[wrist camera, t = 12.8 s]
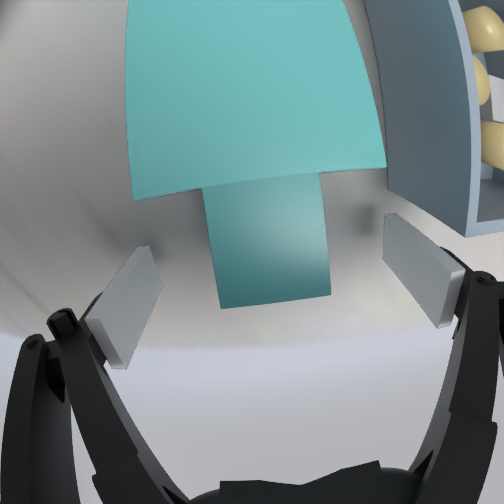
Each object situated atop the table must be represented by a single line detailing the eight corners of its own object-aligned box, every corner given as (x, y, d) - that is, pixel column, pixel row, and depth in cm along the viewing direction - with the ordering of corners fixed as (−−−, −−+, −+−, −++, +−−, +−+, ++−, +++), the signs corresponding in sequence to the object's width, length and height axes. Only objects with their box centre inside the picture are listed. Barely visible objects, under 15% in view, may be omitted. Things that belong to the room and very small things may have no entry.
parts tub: (490, 183, 16) (562, 220, 9) (387, 188, 17) (464, 237, 9) (472, 14, 10) (542, -1, 3) (359, -16, 11) (416, -72, 3)
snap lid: (355, 258, 17) (395, 283, 11) (186, 280, 18) (154, 314, 12) (295, -32, 13) (301, -79, 8) (160, -13, 14) (137, -56, 8)
